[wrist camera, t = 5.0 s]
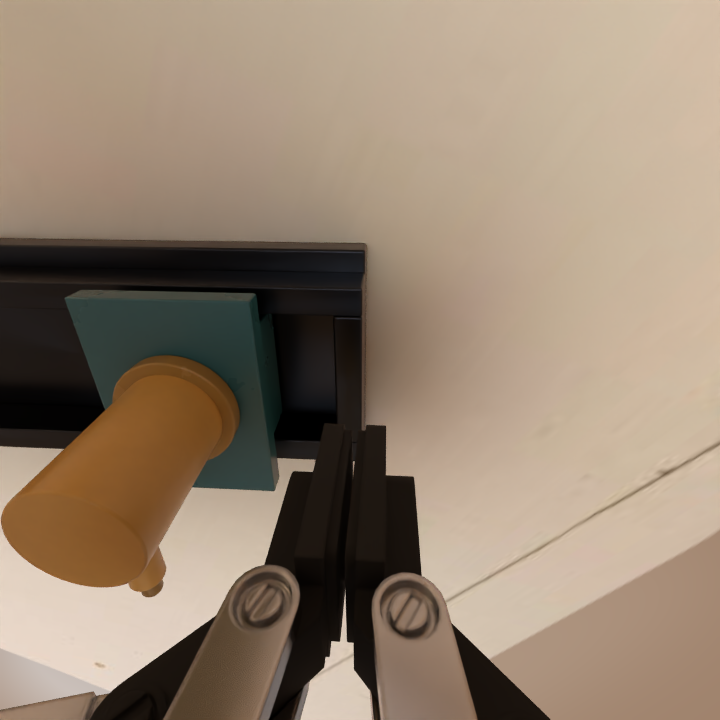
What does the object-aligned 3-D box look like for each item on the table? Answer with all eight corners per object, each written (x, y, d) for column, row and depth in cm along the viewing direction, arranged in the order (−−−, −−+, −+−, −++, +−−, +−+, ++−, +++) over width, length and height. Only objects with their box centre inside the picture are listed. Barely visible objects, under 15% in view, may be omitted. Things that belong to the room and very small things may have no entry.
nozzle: (171, 436, 18) (25, 636, 11) (124, 267, 15) (-147, 397, 7) (292, 440, 18) (226, 649, 11) (275, 270, 14) (155, 408, 7)
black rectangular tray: (-99, 413, 21) (-170, 453, 18) (-218, 234, 16) (-333, 252, 14) (365, 431, 20) (361, 476, 17) (366, 242, 15) (362, 263, 13)
